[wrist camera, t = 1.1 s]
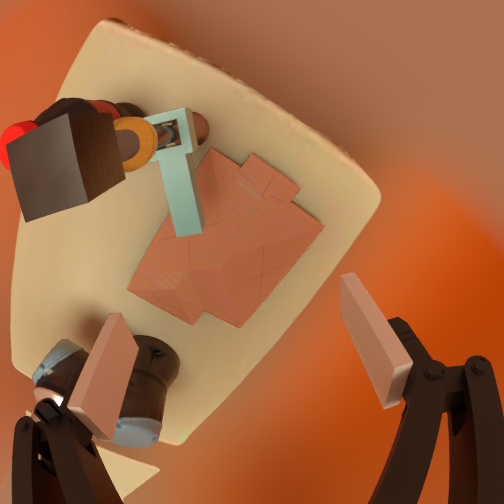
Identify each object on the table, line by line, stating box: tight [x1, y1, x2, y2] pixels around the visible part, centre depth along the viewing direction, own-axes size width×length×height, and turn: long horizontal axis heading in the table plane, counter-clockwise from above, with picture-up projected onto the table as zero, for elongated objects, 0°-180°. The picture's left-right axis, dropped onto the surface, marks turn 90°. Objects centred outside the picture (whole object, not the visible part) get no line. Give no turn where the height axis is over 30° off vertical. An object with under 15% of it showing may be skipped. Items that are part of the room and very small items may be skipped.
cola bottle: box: [0, 98, 145, 170], centre depth 30 cm, size 8×8×30 cm
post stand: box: [6, 112, 209, 222], centre depth 26 cm, size 6×6×40 cm
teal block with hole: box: [143, 107, 205, 238], centre depth 32 cm, size 14×5×5 cm, turn 9°
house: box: [127, 148, 325, 328], centre depth 50 cm, size 23×33×8 cm
